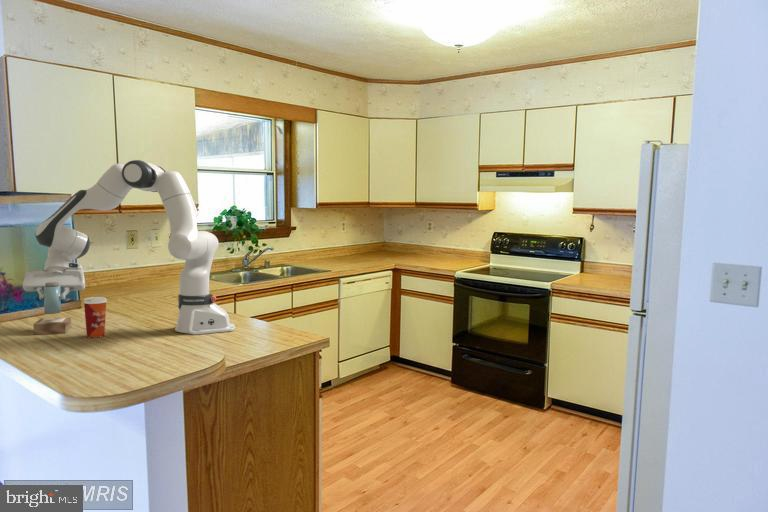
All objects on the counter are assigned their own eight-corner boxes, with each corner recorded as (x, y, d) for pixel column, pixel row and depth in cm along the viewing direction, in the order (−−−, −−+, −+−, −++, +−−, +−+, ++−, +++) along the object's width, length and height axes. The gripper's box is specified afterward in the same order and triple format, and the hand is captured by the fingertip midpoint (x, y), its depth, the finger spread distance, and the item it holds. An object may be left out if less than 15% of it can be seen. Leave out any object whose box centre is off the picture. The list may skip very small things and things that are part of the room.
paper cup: (97, 339, 184) (96, 300, 182) (78, 337, 185) (77, 299, 184) (112, 334, 191) (112, 297, 190) (94, 333, 193) (94, 296, 192)
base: (71, 327, 200) (70, 317, 200) (65, 333, 191) (65, 322, 190) (41, 328, 196) (40, 318, 196) (33, 334, 187) (33, 323, 187)
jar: (62, 310, 196) (61, 281, 196) (59, 313, 192) (58, 283, 191) (46, 311, 195) (45, 282, 194) (42, 314, 190) (42, 284, 189)
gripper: (24, 264, 194) (16, 294, 186) (85, 264, 202) (81, 293, 193) (27, 275, 199) (20, 304, 191) (88, 274, 206) (83, 302, 198)
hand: (51, 298), depth 192 cm, fingers closed on jar, 5 cm apart
